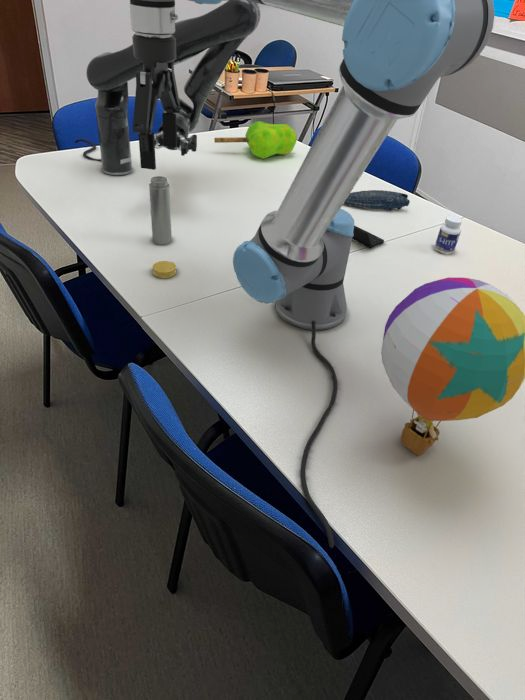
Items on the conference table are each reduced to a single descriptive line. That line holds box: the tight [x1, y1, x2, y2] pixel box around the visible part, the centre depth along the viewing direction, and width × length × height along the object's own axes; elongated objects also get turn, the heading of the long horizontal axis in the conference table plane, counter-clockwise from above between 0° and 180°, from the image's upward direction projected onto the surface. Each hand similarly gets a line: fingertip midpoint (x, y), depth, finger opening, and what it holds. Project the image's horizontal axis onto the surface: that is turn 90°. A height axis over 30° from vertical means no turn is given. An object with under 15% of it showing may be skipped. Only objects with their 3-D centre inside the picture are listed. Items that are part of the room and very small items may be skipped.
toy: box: [380, 277, 525, 456], centre depth 75 cm, size 20×20×30 cm
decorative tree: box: [213, 120, 298, 160], centre depth 186 cm, size 18×10×30 cm
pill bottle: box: [434, 215, 463, 255], centre depth 137 cm, size 5×5×9 cm
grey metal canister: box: [148, 175, 173, 246], centre depth 128 cm, size 5×5×16 cm
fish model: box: [343, 189, 411, 211], centre depth 158 cm, size 7×21×5 cm, turn 84°
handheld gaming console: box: [352, 224, 385, 250], centre depth 139 cm, size 12×7×10 cm
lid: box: [152, 260, 177, 279], centre depth 120 cm, size 5×5×2 cm
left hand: (165, 150), depth 129 cm, fingers open, 8 cm apart
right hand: (160, 157), depth 104 cm, fingers open, 13 cm apart
